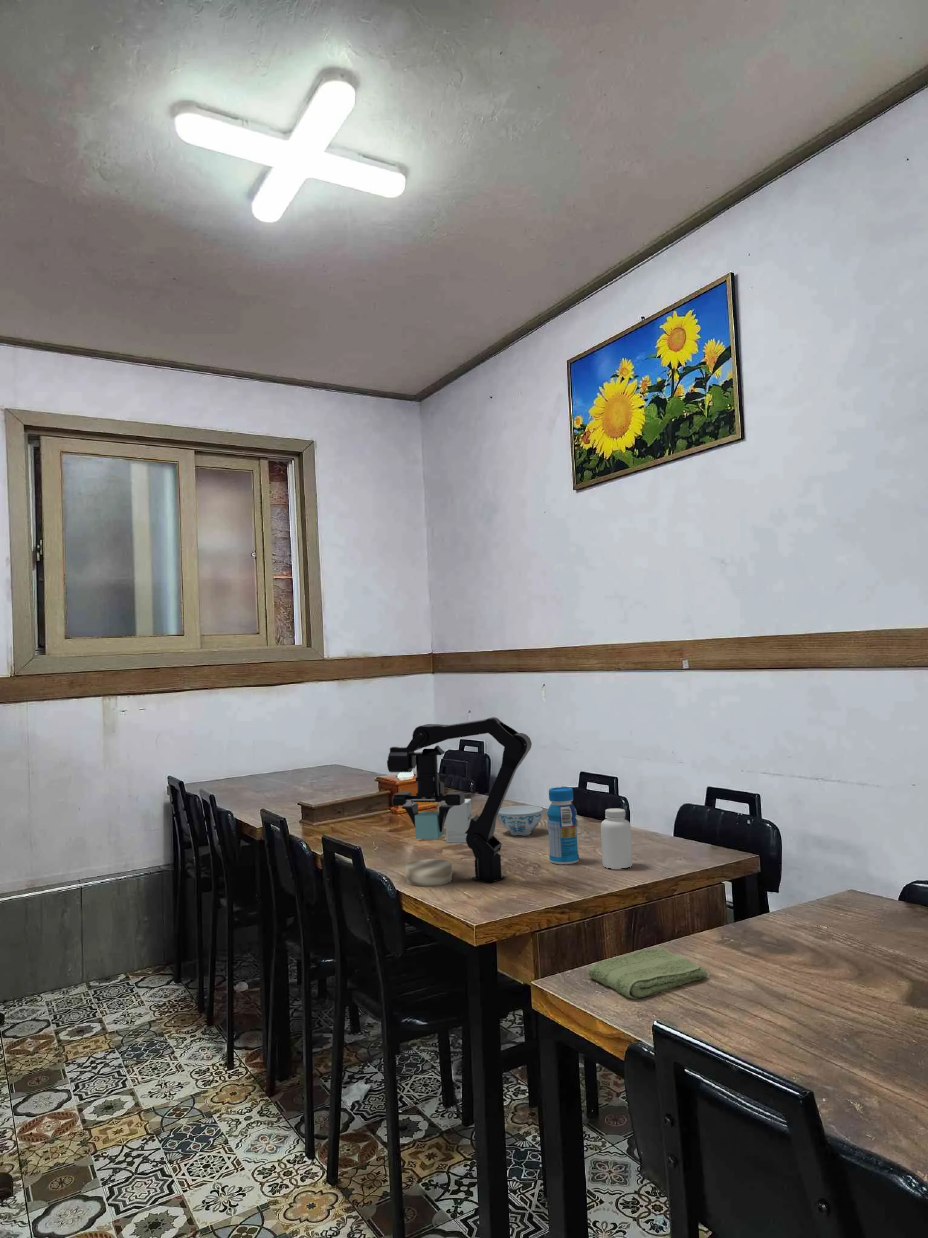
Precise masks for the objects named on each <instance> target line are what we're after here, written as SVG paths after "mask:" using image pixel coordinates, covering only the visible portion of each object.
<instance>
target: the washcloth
mask: <svg viewBox="0 0 928 1238" xmlns="http://www.w3.org/2000/svg"><path fill="white" fill-rule="evenodd" d="M587 974H588V976H589V978H591V979H592V980H594V981H596V982H599V983H600V984H603V986H605V987H610V988H612V989H614V990H615V991H616V992H617V993H619V994H621V995H622V996H625V997H626V998H627V999H632V1000H637V999H641V998H645V997H649V996H654V995H657V994H659V993H664V992H667V991H669V990H671V989H675V988H676V987H679V986H683V985H684V984H688V983H691V982H695V981H699V980H702V979H704V978H707V977H708V976H709V974H708V971H706V970H705V969H703V968H701V966H700V965H698V964H696V963H693V962H692V961H690V960H689V959H687V958H686V957H684V956H683V955H681V954H675V953H672V952H671V951H669V950H668V949H667V948H663V947H655V948H644V949H641V950H637V951H635V952H630V953H628V954H625V955H623V956H618V957H611V958H610V957H609V958H608V959H604V960H599V961H596V962H595V963H594V964H592V965H590V966H589V969H588V970H587Z"/></svg>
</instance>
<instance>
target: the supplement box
mask: <svg viewBox="0 0 928 1238" xmlns="http://www.w3.org/2000/svg"><path fill="white" fill-rule="evenodd" d="M472 812H473V811H472V798H465V802H464V803H463V804H461V805H458V806H453V807H452V808H450V809H449V811H448V814H447V816H446V820H445V837H446V839H445V840H446V843H448V844H449V843H452V844H467V842H466V836H467V834H465V832H466V831H467V830H468V828H469V824H470V821H471V819H472V818H473V814H472Z"/></svg>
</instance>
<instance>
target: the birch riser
mask: <svg viewBox="0 0 928 1238" xmlns="http://www.w3.org/2000/svg"><path fill="white" fill-rule="evenodd" d="M451 880H452V881H453V864H452V862H451V861H448V860H446V859H445V860H444V859H432V858H431V859H420V860H414V861H411V862H408V863H407V864H406V865H405V882H407V883H408V884H407V883H406V884H407V885H409V884H410V886H413V885H415V886H414V887H426V886H427V887H436V885H438V886H443V885H447V884H448V882H449V883H450V882H451ZM442 884H443V885H442ZM416 885H417V886H416Z"/></svg>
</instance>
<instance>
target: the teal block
mask: <svg viewBox="0 0 928 1238" xmlns="http://www.w3.org/2000/svg"><path fill="white" fill-rule="evenodd" d="M444 827H445V826H444ZM444 827H443V831H442V832H440V828H439V810H438V811H437V810H436V811H435V810H434V811H433V810H431V811H429V810H427V811H425V810H423V811H419V812H418V814H416V815H415V827H414V829H415V830H414V832H415V839H416V840H417V839H420V840H424V839H425V840H439V838H441V837H442V836H443V835H444V834H445V833H444V831H445V830H444Z"/></svg>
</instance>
